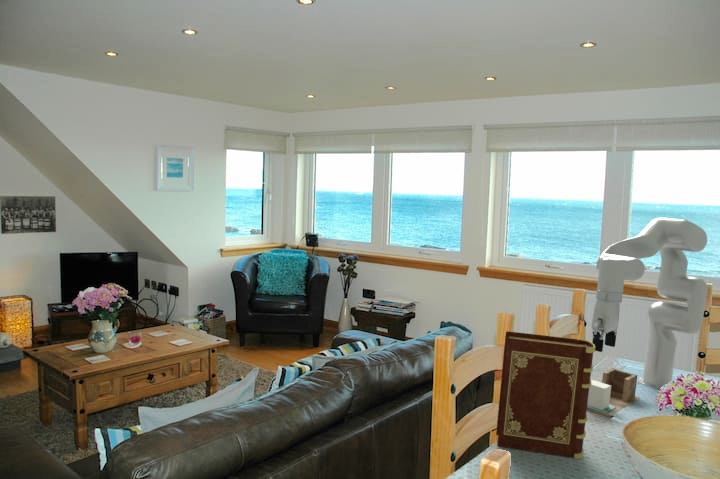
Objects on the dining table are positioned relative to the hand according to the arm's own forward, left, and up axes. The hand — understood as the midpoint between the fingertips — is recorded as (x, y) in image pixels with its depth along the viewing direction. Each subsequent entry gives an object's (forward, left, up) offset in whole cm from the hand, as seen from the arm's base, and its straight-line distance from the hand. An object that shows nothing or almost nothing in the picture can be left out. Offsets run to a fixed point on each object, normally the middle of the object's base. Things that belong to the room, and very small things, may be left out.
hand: (603, 348), depth 177 cm
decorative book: (+41, +2, -21) cm, 46 cm away
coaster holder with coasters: (-8, 0, -20) cm, 22 cm away
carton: (0, 0, -19) cm, 19 cm away
